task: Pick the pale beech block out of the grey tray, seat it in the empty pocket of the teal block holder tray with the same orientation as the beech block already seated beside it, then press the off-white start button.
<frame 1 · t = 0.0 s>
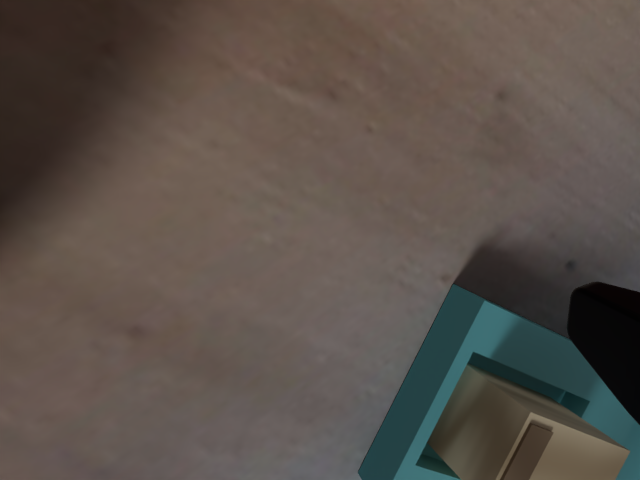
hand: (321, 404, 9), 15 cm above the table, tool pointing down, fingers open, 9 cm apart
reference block: (487, 415, 29), point 1 cm above the table, touching teal block holder tray
teal block holder tray: (552, 434, 32), on the table
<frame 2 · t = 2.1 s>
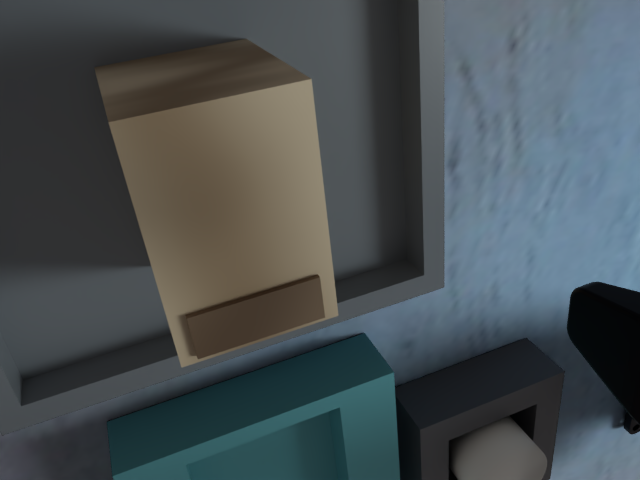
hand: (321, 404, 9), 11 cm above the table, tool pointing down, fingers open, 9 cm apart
start button: (494, 460, 26), point 3 cm above the table, slide at 0.0 cm
grey tray: (191, 150, 18), on the table
button housing: (460, 418, 28), on the table
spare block: (196, 158, 17), point 1 cm above the table, touching grey tray
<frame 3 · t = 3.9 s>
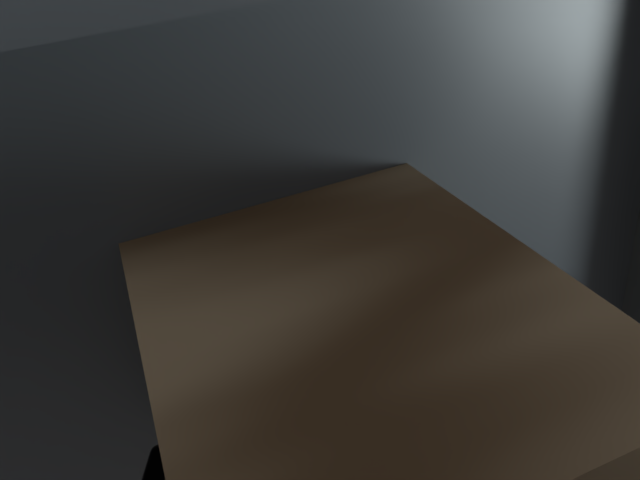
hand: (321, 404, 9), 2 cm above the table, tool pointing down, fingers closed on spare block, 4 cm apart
grey tray: (285, 340, 10), on the table
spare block: (302, 369, 9), point 1 cm above the table, touching gripper, grey tray
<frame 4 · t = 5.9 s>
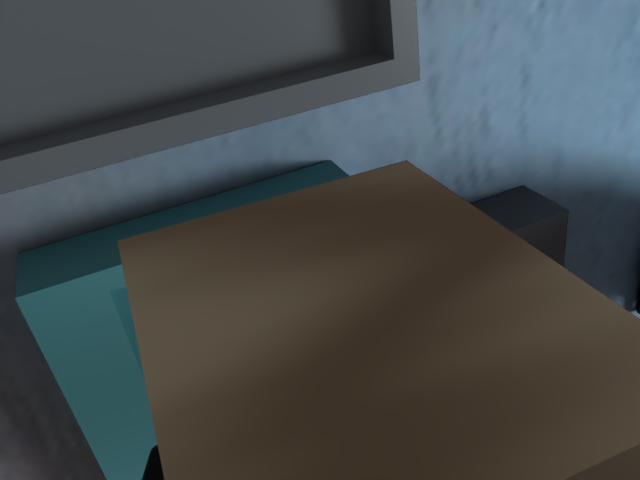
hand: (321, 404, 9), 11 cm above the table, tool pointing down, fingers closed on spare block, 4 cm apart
button housing: (450, 284, 25), on the table
teal block holder tray: (248, 422, 24), on the table
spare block: (301, 367, 9), point 10 cm above the table, touching gripper
when the fingers open (4 cm above the table, at t = 8.1 s): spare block drops 2 cm, resting on teal block holder tray.
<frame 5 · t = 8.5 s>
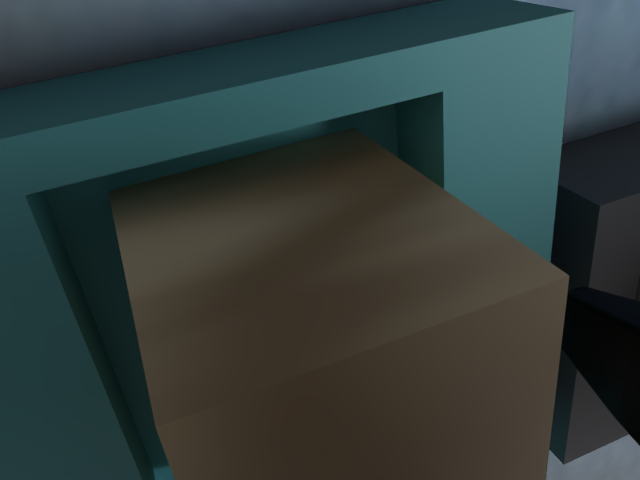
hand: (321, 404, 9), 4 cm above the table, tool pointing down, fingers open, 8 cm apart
button housing: (618, 251, 15), on the table
teal block holder tray: (291, 467, 14), on the table
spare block: (269, 309, 11), point 1 cm above the table, touching teal block holder tray
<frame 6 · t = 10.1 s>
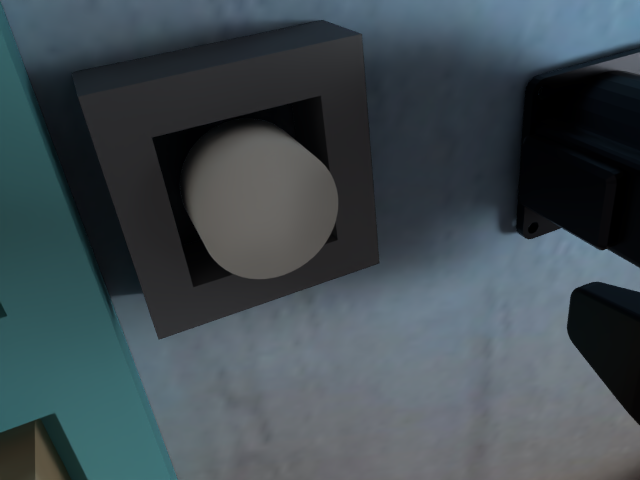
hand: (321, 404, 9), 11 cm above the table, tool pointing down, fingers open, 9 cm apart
start button: (257, 197, 16), point 3 cm above the table, slide at 0.0 cm
button housing: (229, 163, 18), on the table
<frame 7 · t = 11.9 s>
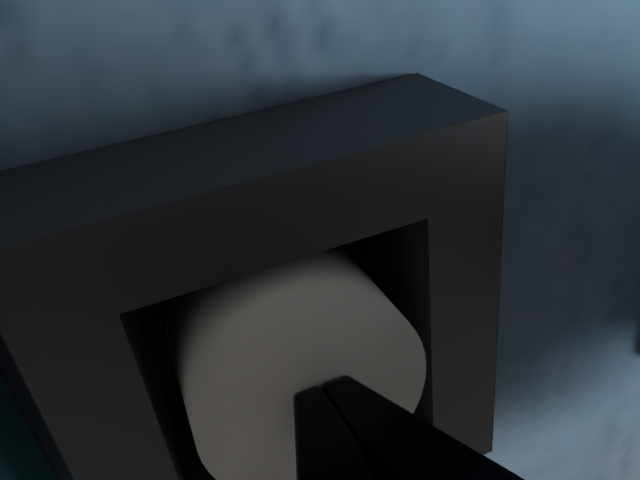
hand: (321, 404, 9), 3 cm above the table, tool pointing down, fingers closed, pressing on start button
start button: (291, 356, 10), point 2 cm above the table, slide at 0.9 cm, touching gripper
button housing: (259, 297, 11), on the table
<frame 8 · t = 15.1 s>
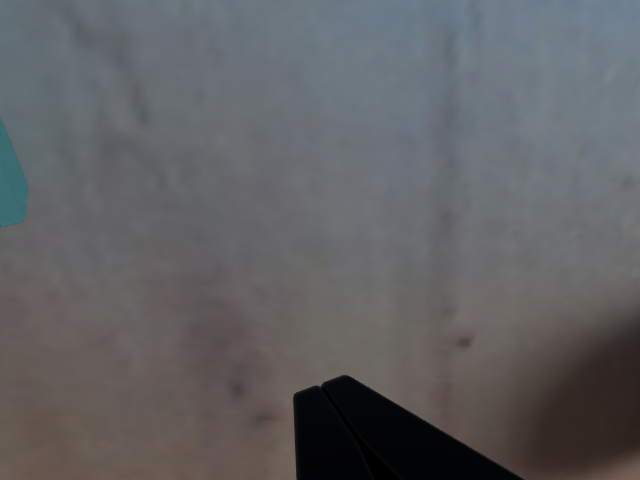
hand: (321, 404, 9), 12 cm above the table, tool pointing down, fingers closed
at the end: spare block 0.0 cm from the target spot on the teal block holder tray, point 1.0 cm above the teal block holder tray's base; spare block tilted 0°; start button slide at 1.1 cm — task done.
